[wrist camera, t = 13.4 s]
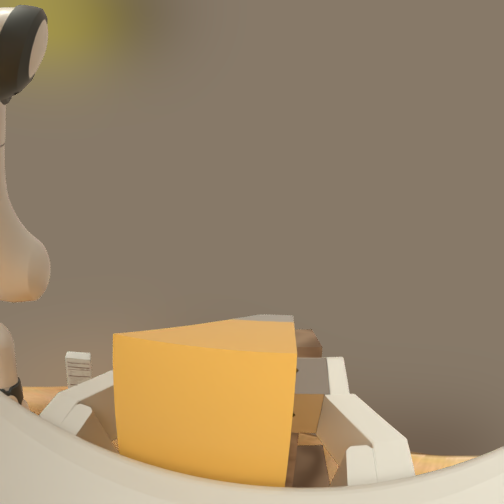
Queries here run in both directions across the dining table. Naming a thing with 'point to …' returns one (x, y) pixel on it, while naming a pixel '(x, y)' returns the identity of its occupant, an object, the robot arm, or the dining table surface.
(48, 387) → the dining table surface
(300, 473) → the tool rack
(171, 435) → the gray and orange bar
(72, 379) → the supplement box
